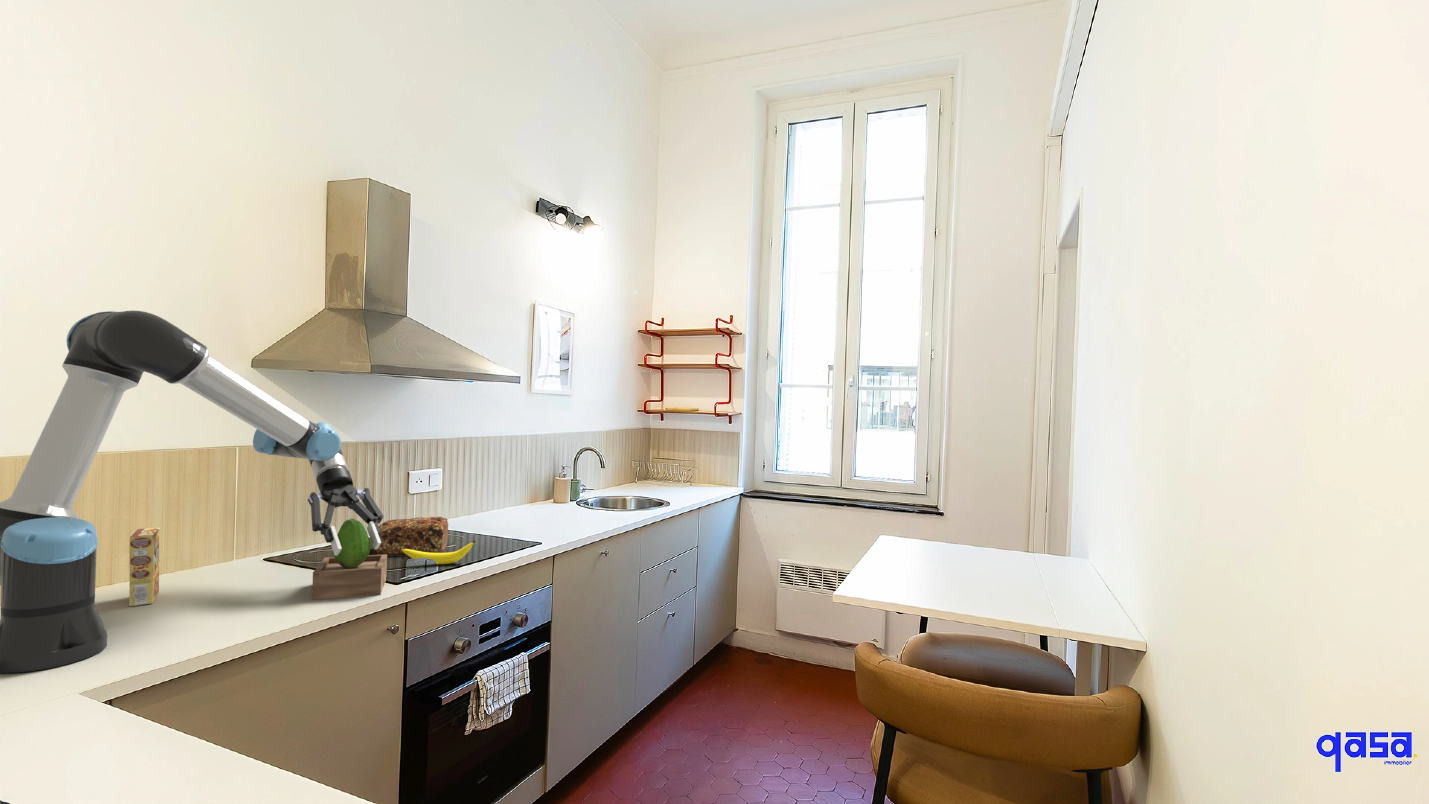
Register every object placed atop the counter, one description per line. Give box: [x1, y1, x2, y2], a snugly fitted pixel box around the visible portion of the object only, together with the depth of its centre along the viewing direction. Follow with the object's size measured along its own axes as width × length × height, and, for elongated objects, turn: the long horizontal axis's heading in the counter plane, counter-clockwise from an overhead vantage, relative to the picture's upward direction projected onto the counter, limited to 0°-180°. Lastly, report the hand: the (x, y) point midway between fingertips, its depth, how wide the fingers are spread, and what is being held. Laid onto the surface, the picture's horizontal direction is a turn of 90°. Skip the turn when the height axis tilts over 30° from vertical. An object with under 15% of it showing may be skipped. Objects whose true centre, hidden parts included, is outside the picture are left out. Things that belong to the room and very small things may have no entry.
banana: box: [401, 540, 476, 565], centre depth 182 cm, size 3×19×6 cm, turn 111°
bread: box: [375, 516, 449, 556], centre depth 197 cm, size 19×11×10 cm, turn 102°
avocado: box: [332, 517, 371, 568], centre depth 159 cm, size 8×8×12 cm
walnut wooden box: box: [311, 554, 388, 600], centre depth 159 cm, size 14×14×6 cm
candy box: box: [128, 527, 161, 607], centre depth 146 cm, size 9×4×15 cm, turn 33°
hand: (358, 549), depth 157 cm, fingers open, 8 cm apart
